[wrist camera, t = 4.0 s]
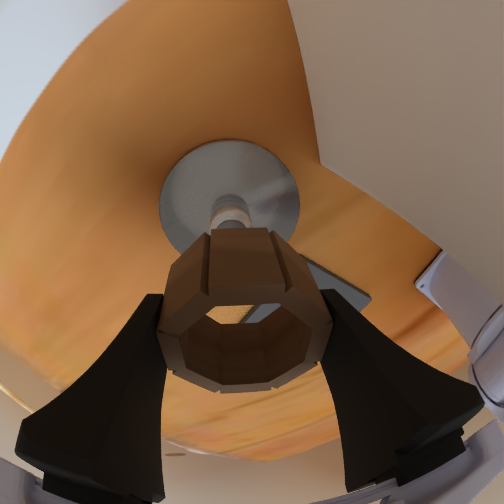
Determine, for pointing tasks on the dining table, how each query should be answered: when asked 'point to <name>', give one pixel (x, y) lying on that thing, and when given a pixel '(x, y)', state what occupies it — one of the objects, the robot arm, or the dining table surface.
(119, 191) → the dining table surface
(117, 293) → the dining table surface
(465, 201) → the milk
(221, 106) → the dining table surface
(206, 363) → the ring
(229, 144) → the hub
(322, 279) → the mat
